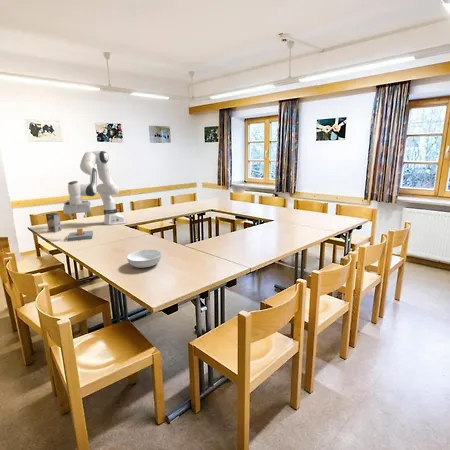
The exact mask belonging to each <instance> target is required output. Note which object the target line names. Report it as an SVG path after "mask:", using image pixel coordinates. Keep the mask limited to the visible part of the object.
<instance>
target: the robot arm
mask: <svg viewBox="0 0 450 450" xmlns="http://www.w3.org/2000/svg"><path fill="white" fill-rule="evenodd" d="M109 159H110V157H109V154H108V152H107V151H105V150H95V151H86V152H84V153H83V156H82V158H81V160H80V164H79V167H80V170H81V172H83V173H84V174H86V175H89V183H88V184H87V183H84V184H83V183H79V181H77V180H73V181H69V182H68V183H67V191H68V195H69V197H68V198H69V200H65V201H64V202H63V214H64V215H69V217H70V219H71V220H74V216H72V214H82V213H83V214H84V215H83V218H84V219H85V218H87V217H86V216H87V213H90V212H91V211H92V209H91V202H90V201H88V200H83V199H82V197H94V196H95V195H96V194H97V193H98V195H99V197H100V198H101V200H102V203H103V216H104V217H103V218H104V219H103V220H104V221H103V225H109V226H114V225H115V226H116V225H121V224H127V223H128V220H127V219H126V218H125V215H124V214H122V213H120V212H119V211H120V210H119V209H118V208H117V206H116V200H115V199H114V198H113V196H117V195H118V194H119V193H120V187H119V185H117V184H116V182H115V181H114V179H113V177H112V172H111V167H110V164H109ZM95 165H96V168H97V169H96V168H95ZM98 179H99V180H100V181H101V182H102V183H99V184H97V183H98V182H97V181H98Z"/></svg>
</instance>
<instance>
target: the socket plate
mask: <svg viewBox="0 0 450 450" xmlns="http://www.w3.org/2000/svg"><path fill="white" fill-rule="evenodd" d="M83 234H84V235H77V231H73V232H69V233H68V235H67V237H66V238H67V242H76V241H84V240H92V239H93V237H94V230H83Z"/></svg>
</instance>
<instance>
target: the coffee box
mask: <svg viewBox="0 0 450 450" xmlns="http://www.w3.org/2000/svg"><path fill="white" fill-rule="evenodd" d="M45 217H46V223H47V224H46V225H47V231H48V232H51V233H57V232H58V233H59V232H61V231H62V225H61V219H60V218H61V217H60V213H59V212H58V213H55V212H50V213H46V214H45Z"/></svg>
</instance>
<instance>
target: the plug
mask: <svg viewBox="0 0 450 450" xmlns="http://www.w3.org/2000/svg"><path fill="white" fill-rule="evenodd" d="M83 231H84V227H82V226H81V227H77V228H76V232H77V235H84V234H83Z"/></svg>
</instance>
